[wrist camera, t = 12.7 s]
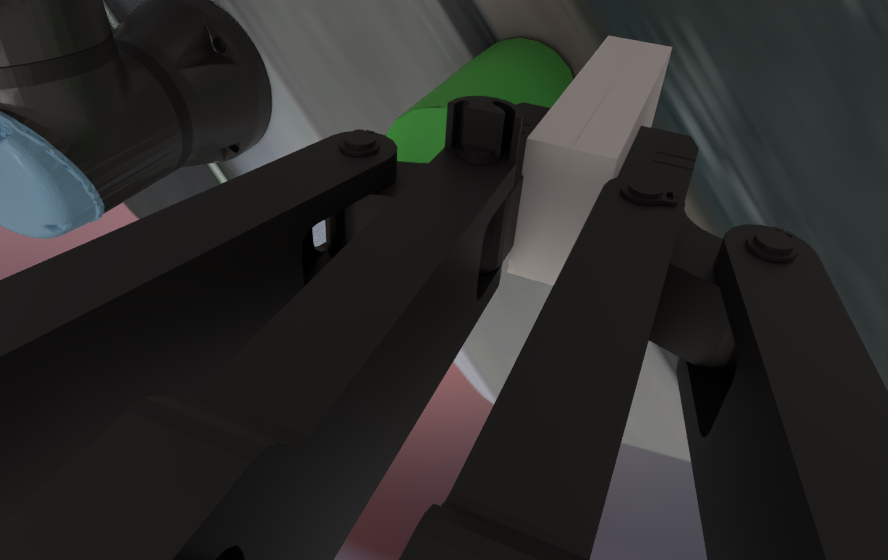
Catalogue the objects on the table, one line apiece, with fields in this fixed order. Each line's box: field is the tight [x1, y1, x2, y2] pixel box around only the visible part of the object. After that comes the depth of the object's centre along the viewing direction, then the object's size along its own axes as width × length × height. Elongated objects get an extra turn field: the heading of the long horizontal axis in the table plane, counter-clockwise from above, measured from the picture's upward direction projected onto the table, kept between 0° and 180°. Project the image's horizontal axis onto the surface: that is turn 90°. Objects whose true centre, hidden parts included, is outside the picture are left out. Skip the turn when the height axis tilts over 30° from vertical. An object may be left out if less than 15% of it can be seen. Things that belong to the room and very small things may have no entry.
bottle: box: [386, 38, 574, 163], centre depth 42 cm, size 9×9×25 cm
